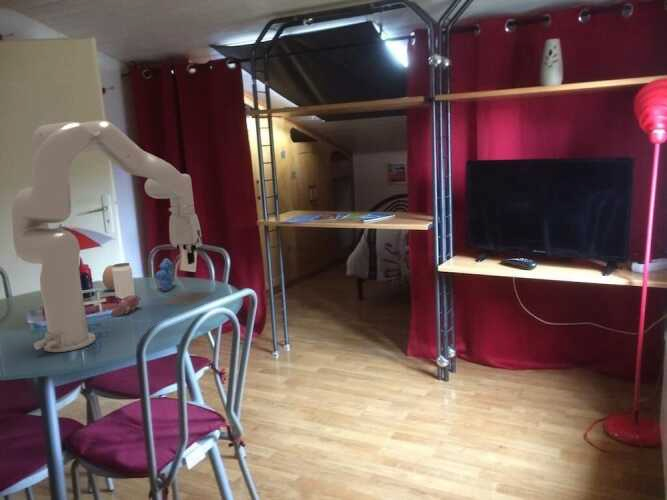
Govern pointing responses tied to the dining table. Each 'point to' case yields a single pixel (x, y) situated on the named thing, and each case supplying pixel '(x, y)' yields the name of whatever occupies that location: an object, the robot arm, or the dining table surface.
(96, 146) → the robot arm
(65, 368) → the dining table surface
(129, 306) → the red lumpy clump
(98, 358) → the dining table surface
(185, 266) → the tile
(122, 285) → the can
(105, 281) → the egg
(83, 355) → the dining table surface
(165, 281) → the grapes
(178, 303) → the mat
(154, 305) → the dining table surface
